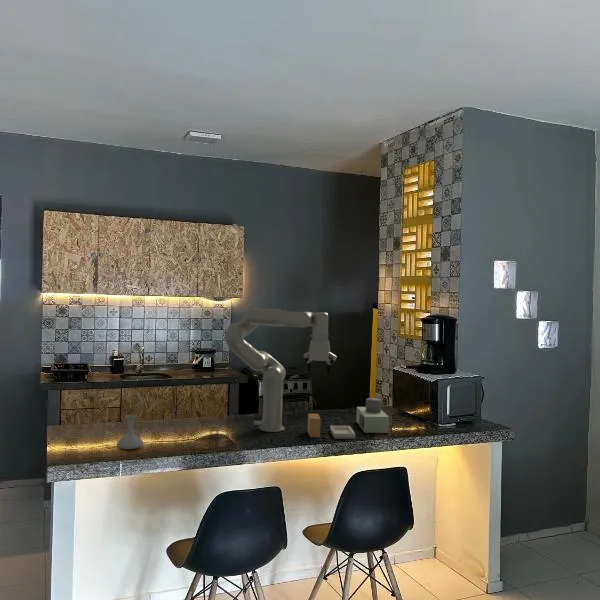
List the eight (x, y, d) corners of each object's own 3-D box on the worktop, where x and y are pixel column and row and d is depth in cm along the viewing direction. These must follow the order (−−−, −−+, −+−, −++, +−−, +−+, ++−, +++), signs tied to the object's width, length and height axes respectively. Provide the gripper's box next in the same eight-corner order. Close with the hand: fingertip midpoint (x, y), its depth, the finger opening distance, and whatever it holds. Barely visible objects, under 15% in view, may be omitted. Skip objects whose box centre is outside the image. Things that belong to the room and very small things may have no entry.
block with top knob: (363, 432, 301) (364, 404, 301) (355, 421, 325) (356, 395, 325) (388, 432, 302) (389, 404, 302) (378, 421, 326) (379, 396, 326)
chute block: (309, 437, 288) (310, 418, 288) (307, 431, 299) (308, 413, 299) (320, 437, 289) (320, 418, 289) (317, 431, 300) (318, 413, 300)
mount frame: (334, 438, 287) (334, 433, 287) (329, 430, 303) (330, 425, 303) (355, 438, 288) (355, 433, 288) (349, 430, 304) (349, 425, 303)
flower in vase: (134, 452, 253) (136, 393, 252) (110, 449, 256) (112, 391, 255) (150, 445, 265) (152, 388, 265) (127, 442, 268) (128, 386, 268)
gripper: (301, 337, 297) (300, 371, 298) (334, 338, 290) (333, 374, 291) (306, 336, 304) (306, 369, 305) (339, 337, 297) (338, 372, 298)
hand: (319, 372), depth 298 cm, fingers open, 9 cm apart
